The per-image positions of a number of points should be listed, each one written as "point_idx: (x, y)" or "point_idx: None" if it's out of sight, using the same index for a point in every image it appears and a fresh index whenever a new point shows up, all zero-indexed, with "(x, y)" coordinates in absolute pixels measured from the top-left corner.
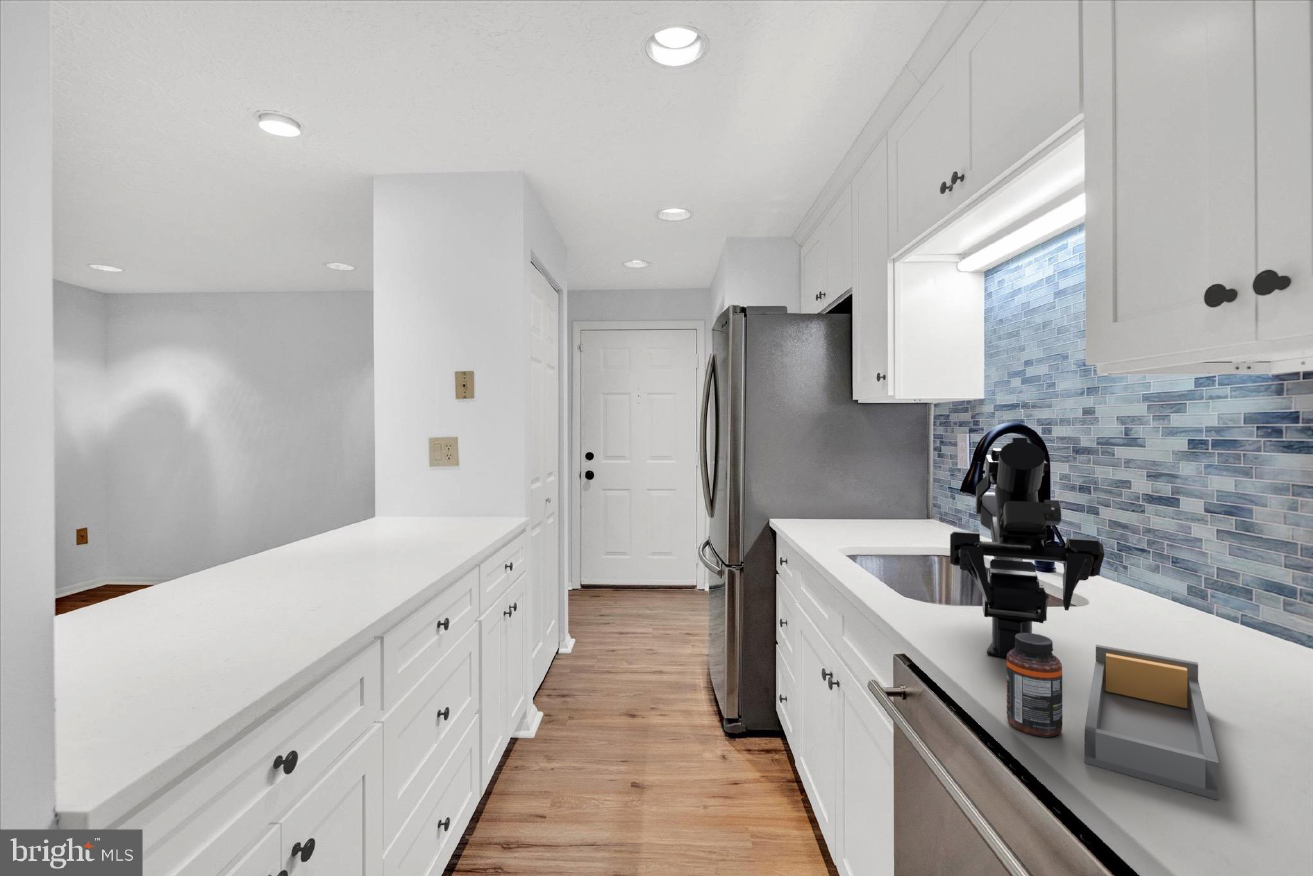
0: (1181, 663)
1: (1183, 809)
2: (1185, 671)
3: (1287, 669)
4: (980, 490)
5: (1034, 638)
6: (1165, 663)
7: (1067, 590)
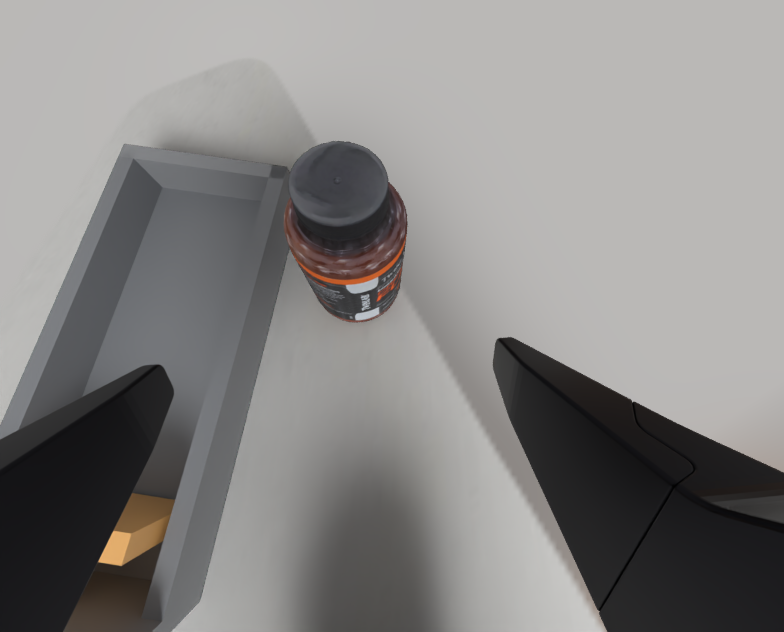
0: None
1: (212, 145)
2: None
3: None
4: None
5: (336, 174)
6: None
7: (74, 417)
